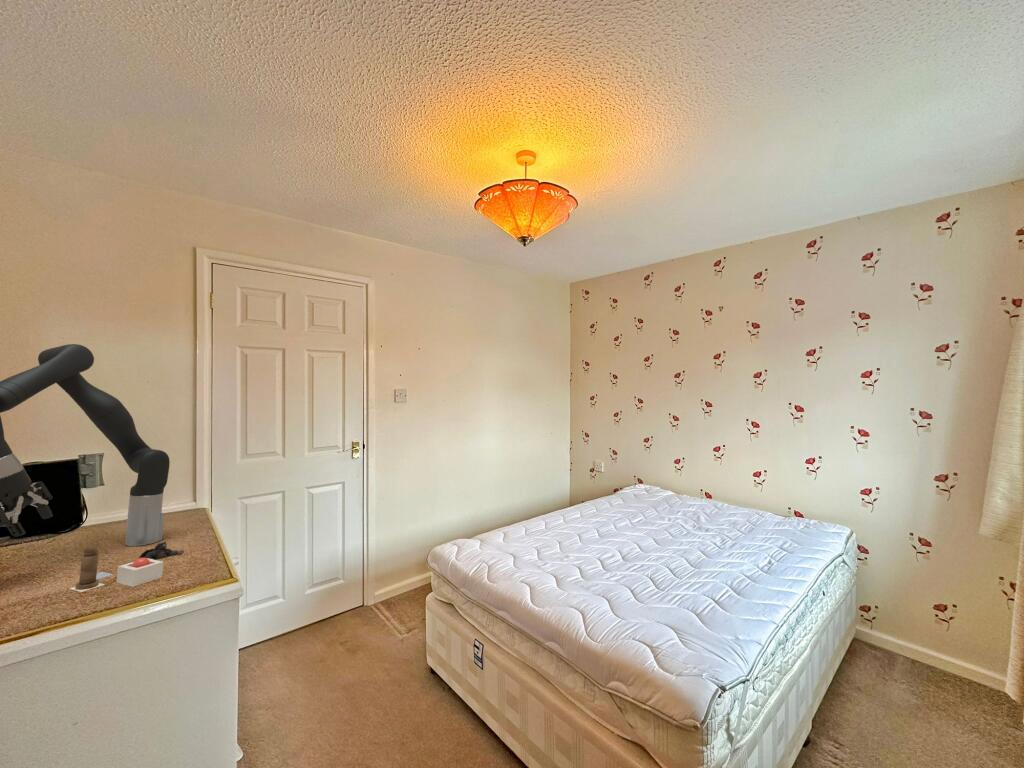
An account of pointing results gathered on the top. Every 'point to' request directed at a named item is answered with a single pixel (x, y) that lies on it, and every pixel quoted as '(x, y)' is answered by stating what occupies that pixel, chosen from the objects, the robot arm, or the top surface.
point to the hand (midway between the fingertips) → (34, 526)
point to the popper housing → (139, 573)
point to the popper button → (141, 562)
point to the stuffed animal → (160, 552)
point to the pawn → (88, 569)
